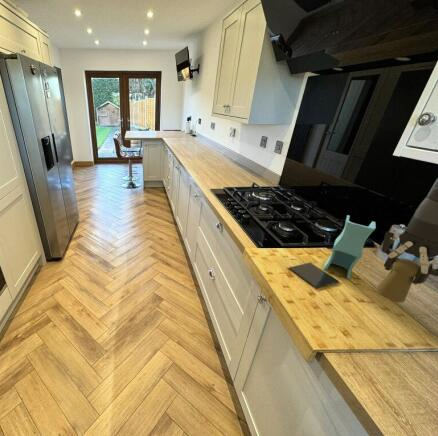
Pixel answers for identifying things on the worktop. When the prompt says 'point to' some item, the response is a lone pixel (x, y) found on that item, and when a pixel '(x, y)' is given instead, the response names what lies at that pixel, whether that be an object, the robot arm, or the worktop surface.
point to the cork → (398, 280)
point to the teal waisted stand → (350, 245)
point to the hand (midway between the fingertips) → (401, 275)
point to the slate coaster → (313, 275)
